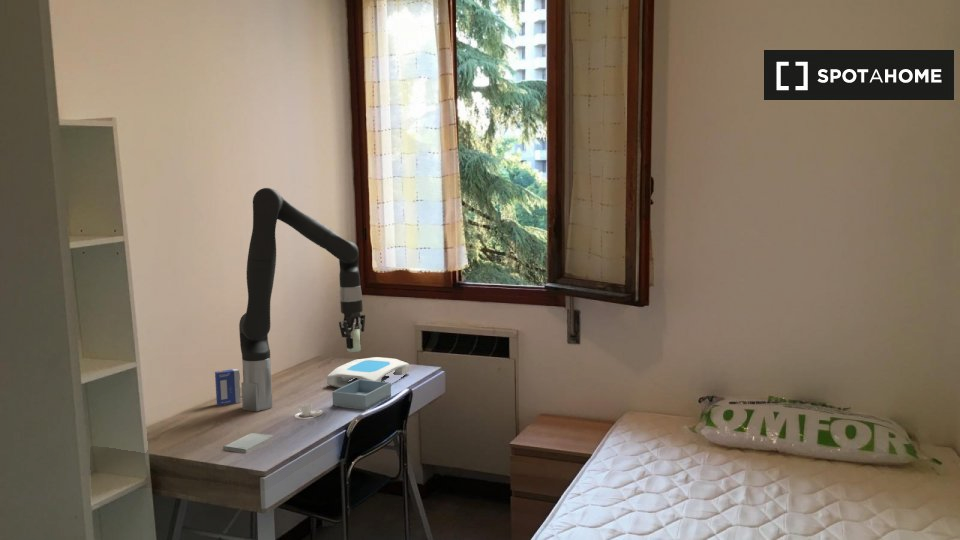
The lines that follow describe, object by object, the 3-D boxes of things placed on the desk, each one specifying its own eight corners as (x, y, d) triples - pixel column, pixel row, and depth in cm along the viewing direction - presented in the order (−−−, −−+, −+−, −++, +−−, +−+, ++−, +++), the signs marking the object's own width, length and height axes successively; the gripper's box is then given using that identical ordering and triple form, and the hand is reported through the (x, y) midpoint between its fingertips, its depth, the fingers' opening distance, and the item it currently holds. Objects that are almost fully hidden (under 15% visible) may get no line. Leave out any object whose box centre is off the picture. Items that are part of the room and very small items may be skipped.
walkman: (218, 406, 255) (216, 372, 253) (216, 404, 257) (214, 370, 256) (241, 402, 259) (239, 369, 258) (239, 400, 261) (237, 367, 260)
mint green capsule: (356, 352, 255) (355, 331, 254) (344, 351, 257) (343, 330, 256) (363, 349, 260) (361, 328, 259) (351, 348, 261) (350, 327, 260)
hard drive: (246, 449, 210) (273, 435, 222) (222, 445, 213) (250, 432, 225) (246, 454, 210) (273, 440, 222) (223, 451, 213) (251, 437, 225)
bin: (365, 410, 249) (365, 395, 248) (332, 405, 254) (332, 391, 253) (391, 396, 264) (390, 382, 264) (359, 392, 269) (359, 379, 269)
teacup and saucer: (326, 415, 245) (325, 403, 244) (309, 422, 238) (308, 409, 238) (306, 411, 249) (306, 399, 249) (289, 417, 243) (289, 405, 242)
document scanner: (410, 374, 295) (409, 359, 294) (375, 393, 269) (374, 377, 268) (364, 370, 302) (363, 355, 302) (326, 388, 276) (325, 372, 276)
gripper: (349, 302, 248) (352, 352, 250) (370, 295, 261) (373, 342, 263) (330, 302, 251) (333, 351, 253) (352, 295, 264) (355, 341, 266)
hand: (354, 346), depth 258 cm, fingers closed on mint green capsule, 4 cm apart
